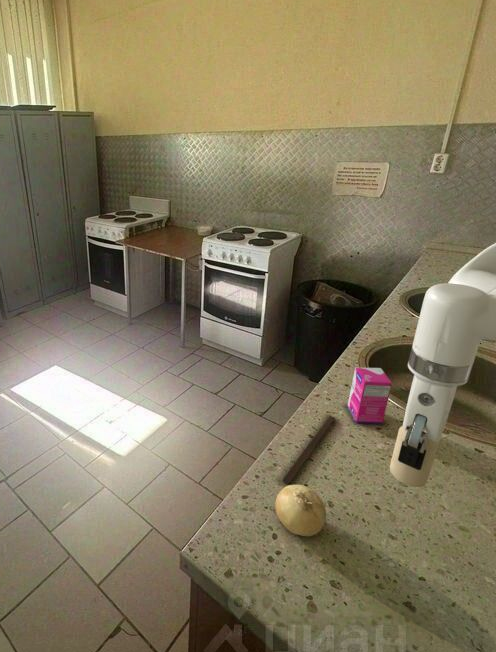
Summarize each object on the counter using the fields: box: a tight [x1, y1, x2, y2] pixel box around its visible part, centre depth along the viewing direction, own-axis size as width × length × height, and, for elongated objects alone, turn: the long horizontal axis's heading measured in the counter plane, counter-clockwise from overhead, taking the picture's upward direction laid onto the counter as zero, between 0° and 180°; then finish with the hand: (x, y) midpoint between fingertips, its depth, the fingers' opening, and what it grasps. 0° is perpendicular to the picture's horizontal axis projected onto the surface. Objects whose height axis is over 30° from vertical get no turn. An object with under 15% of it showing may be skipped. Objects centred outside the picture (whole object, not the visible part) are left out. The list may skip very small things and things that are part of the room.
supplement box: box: [347, 366, 393, 425], centre depth 89 cm, size 6×6×12 cm
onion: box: [274, 484, 327, 537], centre depth 66 cm, size 8×8×7 cm
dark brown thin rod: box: [282, 415, 336, 486], centre depth 83 cm, size 1×24×1 cm, turn 136°
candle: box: [389, 425, 440, 488], centre depth 67 cm, size 6×6×10 cm
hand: (413, 452), depth 67 cm, fingers closed on candle, 5 cm apart
